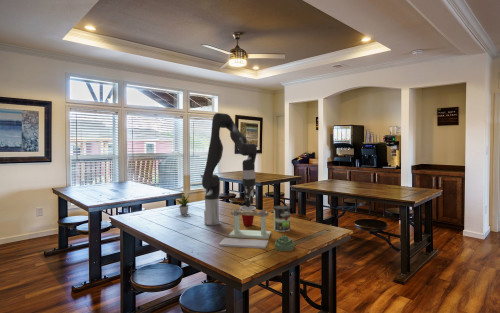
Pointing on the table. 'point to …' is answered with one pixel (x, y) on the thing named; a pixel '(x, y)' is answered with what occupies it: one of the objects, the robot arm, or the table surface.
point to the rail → (250, 213)
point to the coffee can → (281, 218)
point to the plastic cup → (247, 218)
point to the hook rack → (250, 233)
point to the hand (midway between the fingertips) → (249, 205)
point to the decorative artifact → (284, 244)
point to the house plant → (183, 204)
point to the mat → (244, 243)
